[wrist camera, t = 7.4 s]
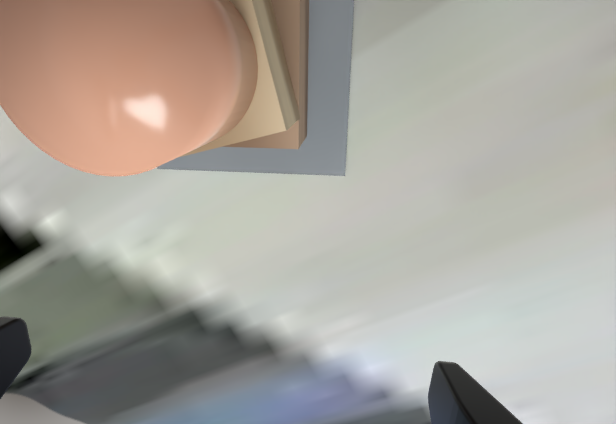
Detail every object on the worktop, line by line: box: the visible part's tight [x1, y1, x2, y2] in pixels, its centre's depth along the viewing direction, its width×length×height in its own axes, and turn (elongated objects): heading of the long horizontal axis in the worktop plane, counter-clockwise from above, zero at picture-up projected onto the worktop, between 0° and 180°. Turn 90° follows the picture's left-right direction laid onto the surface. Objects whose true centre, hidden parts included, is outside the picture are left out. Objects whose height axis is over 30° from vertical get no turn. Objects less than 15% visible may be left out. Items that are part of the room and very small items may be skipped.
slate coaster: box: [157, 0, 354, 176], centre depth 19 cm, size 10×10×1 cm
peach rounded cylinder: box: [0, 0, 258, 176], centre depth 9 cm, size 4×4×4 cm
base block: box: [222, 0, 309, 149], centre depth 16 cm, size 6×6×4 cm
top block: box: [177, 0, 300, 158], centre depth 13 cm, size 5×5×4 cm
